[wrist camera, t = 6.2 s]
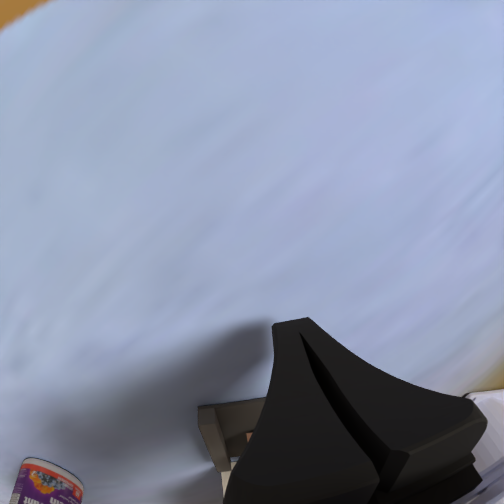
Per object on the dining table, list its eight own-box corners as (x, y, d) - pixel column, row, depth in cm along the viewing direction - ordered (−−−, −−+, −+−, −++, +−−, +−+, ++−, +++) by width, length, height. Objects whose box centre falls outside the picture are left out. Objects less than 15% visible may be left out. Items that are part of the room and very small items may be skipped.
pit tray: (367, 373, 15) (377, 389, 13) (356, 428, 16) (363, 442, 15) (197, 406, 14) (197, 425, 13) (216, 456, 16) (217, 472, 15)
